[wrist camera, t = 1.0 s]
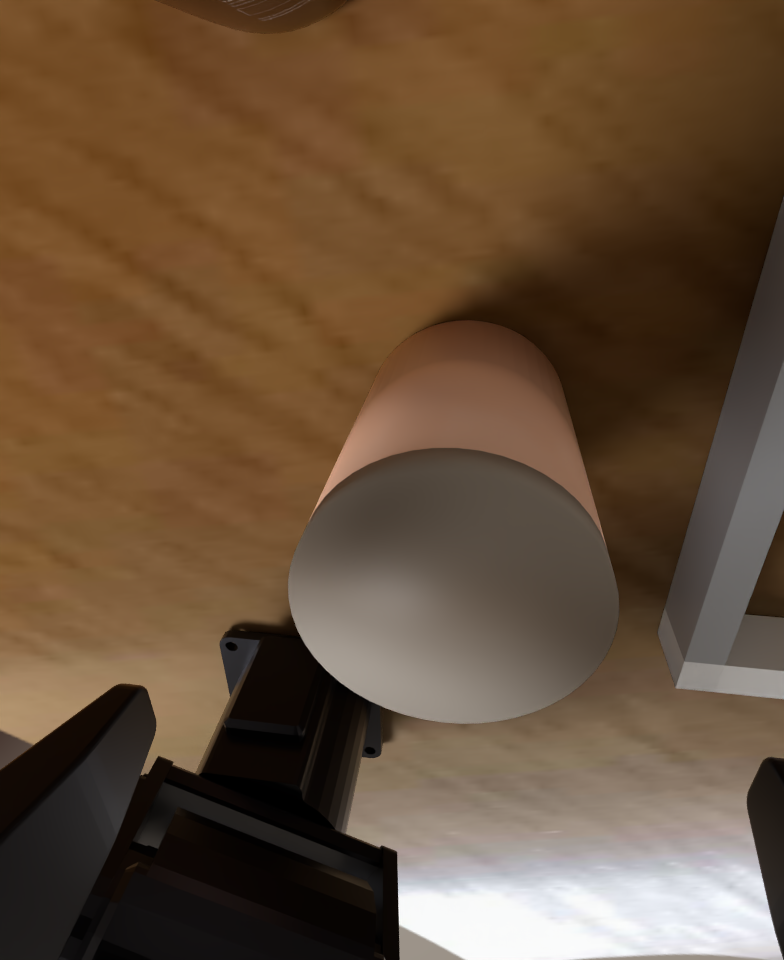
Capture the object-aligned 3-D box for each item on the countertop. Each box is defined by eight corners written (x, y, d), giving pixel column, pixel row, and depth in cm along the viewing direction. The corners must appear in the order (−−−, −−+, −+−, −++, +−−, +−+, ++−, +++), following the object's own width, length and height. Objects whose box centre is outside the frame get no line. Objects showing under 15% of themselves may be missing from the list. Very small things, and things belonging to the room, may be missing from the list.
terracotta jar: (552, 506, 20) (590, 739, 12) (371, 494, 20) (301, 706, 13) (579, 323, 17) (652, 483, 9) (366, 317, 18) (271, 459, 10)
